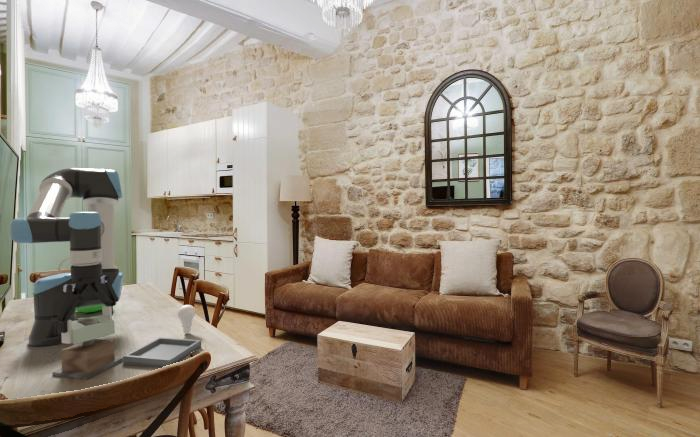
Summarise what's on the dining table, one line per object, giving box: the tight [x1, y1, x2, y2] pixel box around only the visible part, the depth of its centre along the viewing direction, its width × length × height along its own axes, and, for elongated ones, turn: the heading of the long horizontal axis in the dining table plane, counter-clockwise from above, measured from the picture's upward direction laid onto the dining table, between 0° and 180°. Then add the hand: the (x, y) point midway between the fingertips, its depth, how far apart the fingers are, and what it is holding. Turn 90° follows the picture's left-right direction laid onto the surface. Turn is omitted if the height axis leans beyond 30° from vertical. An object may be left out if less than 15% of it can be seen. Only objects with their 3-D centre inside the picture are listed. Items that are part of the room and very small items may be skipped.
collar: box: [71, 314, 116, 345], centre depth 106 cm, size 10×10×4 cm
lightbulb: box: [177, 304, 196, 335], centre depth 135 cm, size 6×6×11 cm
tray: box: [122, 336, 202, 369], centre depth 115 cm, size 16×16×2 cm
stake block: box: [52, 317, 123, 380], centre depth 106 cm, size 12×12×15 cm
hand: (88, 334), depth 106 cm, fingers closed on collar, 13 cm apart
